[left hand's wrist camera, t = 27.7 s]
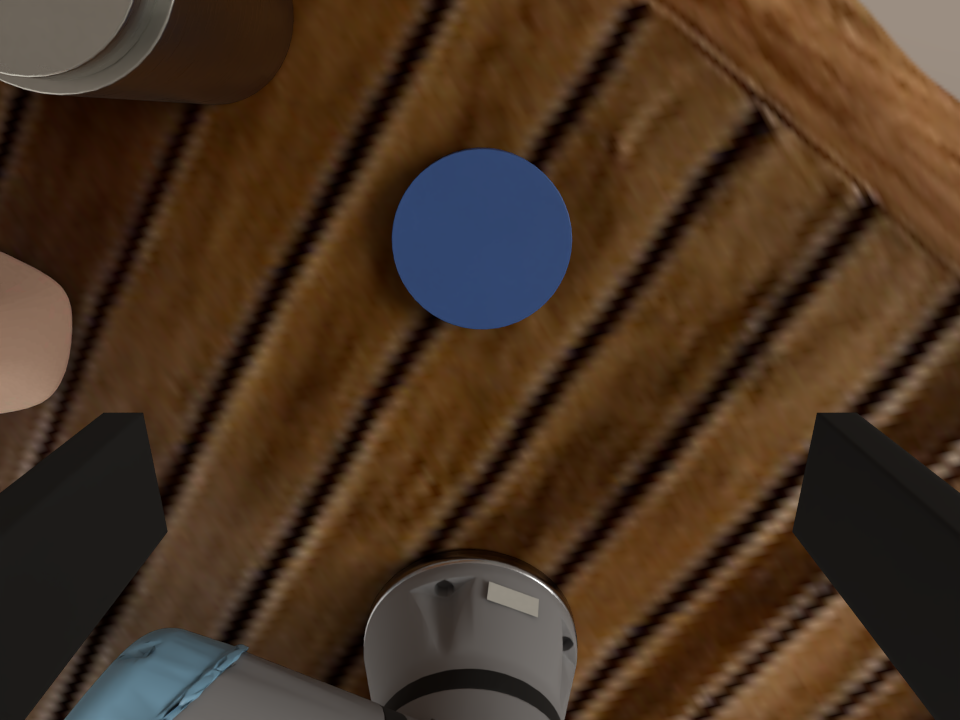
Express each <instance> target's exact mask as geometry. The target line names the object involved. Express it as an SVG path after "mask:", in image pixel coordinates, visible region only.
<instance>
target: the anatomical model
mask: <svg viewBox="0 0 960 720" xmlns="http://www.w3.org/2000/svg"><path fill="white" fill-rule="evenodd" d="M71 339H72V311H71V305H70V302H69V299H68V297H67V295H66V293H65V291H64V290H63V288H62V287H61V286H60V285H59V284H58V283H57V282H56V281H54V280H53V279H52V278H51V277H49V276H47V275H46V274H44V273H42V272H41V271H39V270H37V269H36V268H34V267H32V266H29V265H27V264H25V263H23V262H21V261H19V260H17V259H15V258H13V257H11V256H9V255H7V254H5V253H3V252H0V413H6V412H12V411H17V410H21V409H26V408H29V407H32V406H35V405H37V404H40V403H42V402H43V401H45V400H46V399H48V398H49V397H50V396H51V395H52V394H53V393H54V392H55V391H56V389H57V388H58V386H59V385H60V383H61V381H62V378H63V376H64V374H65V371H66V368H67V364H68V360H69V355H70V348H71Z"/></svg>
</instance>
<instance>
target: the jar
mask: <svg viewBox="0 0 960 720" xmlns="http://www.w3.org/2000/svg"><path fill="white" fill-rule="evenodd" d="M292 30H293V4H292V0H0V80H1V81H3V82H5V83H7V84H10V85H13V86H16V87H18V88H21V89H24V90H28V91H33V92H37V93H42V94H51V95H63V96H79V97H96V98H112V99H129V100H145V101H162V102H178V103H195V104H211V105H216V104H228V103H233V102H237V101H240V100H242V99H245V98H247V97H249V96H251V95H253V94H255V93H256V92H258V91H259V90H260V89H262V88H263V87H264V86H265V85H266V84H267V83H268V82H269V81H270V80H271V79H272V78H273V77H274V76H275V74H276V73H277V71H278V70H279V69H280V67H281V65H282V63H283V61H284V59H285V57H286V54H287V51H288V49H289V46H290V41H291V37H292Z"/></svg>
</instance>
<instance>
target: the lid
mask: <svg viewBox="0 0 960 720" xmlns="http://www.w3.org/2000/svg"><path fill="white" fill-rule="evenodd" d="M571 247H572V231H571V223H570V218H569V214H568V211H567V208H566V205H565V203H564V201H563V199H562V197H561V195H560V193H559V192H558V190H557V189H556V187H555V186H554V184H553V183H552V182H551V181H550V180H549V178H548V177H547V176H546V175H545V174H544V173H543V172H541V171H540V170H539V169H538V168H537V167H536V166H534V165H533V164H532V163H530V162H528V161H527V160H525V159H524V158H522V157H520V156H517V155H515V154H513V153H510V152H507V151H503V150H499V149H493V148H471V149H464V150H461V151H457V152H454V153H451V154H449V155H446V156H444V157H442V158H440V159H439V160H437V161H435V162H434V163H432V164H431V165H430V166H428V167H427V168H426V169H425V170H423V171H422V172H421V173H420V174H419V175H418V176H417V177H416V178H415V179H414V180H413V182H412V183H411V184H410V186H409V187H408V189H407V190H406V191H405V193H404V195H403V197H402V199H401V201H400V203H399V206H398V208H397V211H396V214H395V218H394V222H393V230H392V249H393V256H394V261H395V264H396V267H397V271H398V273H399V275H400V277H401V280H402V282H403V283H404V285H405V287H406V288H407V290H408V291H409V293H410V294H411V295H412V296H413V298H414V299H415V300H416V301H417V302H418V303H419V304H420V305H421V306H422V307H423V308H424V309H426V310H427V311H428V312H430V313H431V314H432V315H434V316H436V317H438V318H439V319H441V320H443V321H446V322H448V323H450V324H453V325H456V326H460V327H464V328H471V329H493V328H499V327H503V326H508V325H510V324H513V323H516V322H519V321H520V320H522V319H524V318H526V317H528V316H530V315H531V314H532V313H534V312H535V311H537V310H538V309H539V308H540V307H541V306H543V305H544V304H545V303H546V302H547V301H548V300H549V298H550V297H551V296H552V295H553V294H554V292H555V291H556V289H557V288H558V286H559V285H560V283H561V281H562V279H563V277H564V275H565V273H566V270H567V267H568V264H569V260H570V255H571Z"/></svg>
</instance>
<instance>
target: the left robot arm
mask: <svg viewBox="0 0 960 720" xmlns="http://www.w3.org/2000/svg"><path fill="white" fill-rule="evenodd" d="M166 533H167V527H166V522H165V517H164V512H163V507H162V503H161V498H160V493H159V488H158V483H157V478H156V474H155V469H154V464H153V459H152V454H151V449H150V445H149V440H148V435H147V430H146V425H145V420H144V415H143V413H103V414H101V415H100V416H99V417H98V418H96V419H95V420H94V421H92V422H91V423H90V424H89V425H87V426H86V427H85V428H83V429H82V430H81V431H79V432H78V433H77V434H76V435H74V436H73V437H72V438H70V439H69V440H68V441H67V442H65V443H64V444H63V445H61V446H60V447H59V448H58V449H56V450H55V451H54V452H52V453H51V454H50V455H49V456H47V457H46V458H45V459H43V460H42V461H41V462H40V463H38V464H37V465H36V466H34V467H33V468H32V469H31V470H29V471H28V472H27V473H25V474H24V475H23V476H21V477H20V478H19V479H18V480H16V481H15V482H14V483H12V484H11V485H10V486H9V487H7V488H6V489H5V490H3V491H2V492H1V493H0V720H25V719H26V717H27V716H28V715H29V713H30V712H31V711H32V709H33V708H34V707H35V705H36V704H37V703H38V701H39V700H40V699H41V698H42V696H43V695H44V694H45V692H46V691H47V690H48V688H49V687H50V686H51V684H52V683H53V682H54V680H55V679H56V678H57V677H58V675H59V674H60V673H61V671H62V670H63V669H64V667H65V666H66V665H67V663H68V662H69V661H70V659H71V658H72V657H73V655H74V654H75V653H76V652H77V650H78V649H79V648H80V646H81V645H82V644H83V642H84V641H85V640H86V638H87V637H88V636H89V634H90V633H91V632H92V630H93V629H94V628H95V627H96V625H97V624H98V623H99V621H100V620H101V619H102V617H103V616H104V615H105V613H106V612H107V611H108V609H109V608H110V607H111V605H112V604H113V603H114V602H115V600H116V599H117V598H118V596H119V595H120V594H121V592H122V591H123V590H124V588H125V587H126V586H127V584H128V583H129V582H130V580H131V579H132V578H133V577H134V575H135V574H136V573H137V571H138V570H139V569H140V567H141V566H142V565H143V563H144V562H145V561H146V559H147V558H148V557H149V555H150V554H151V553H152V552H153V550H154V549H155V548H156V546H157V545H158V544H159V542H160V541H161V540H162V538H163V537H164V536H165V534H166ZM793 533H794V534H795V536H796V537H797V538H798V540H799V541H800V542H801V544H802V545H803V546H804V548H805V549H806V550H807V552H808V553H809V554H810V555H811V557H812V558H813V559H814V561H815V562H816V563H817V565H818V566H819V567H820V569H821V570H822V571H823V573H824V574H825V575H826V577H827V578H828V579H829V580H830V582H831V583H832V584H833V586H834V587H835V588H836V590H837V591H838V592H839V594H840V595H841V596H842V598H843V599H844V600H845V602H846V603H847V604H848V605H849V607H850V608H851V609H852V611H853V612H854V613H855V615H856V616H857V617H858V619H859V620H860V621H861V623H862V624H863V625H864V627H865V628H866V629H867V630H868V632H869V633H870V634H871V636H872V637H873V638H874V640H875V641H876V642H877V644H878V645H879V646H880V648H881V649H882V650H883V652H884V653H885V654H886V655H887V657H888V658H889V659H890V661H891V662H892V663H893V665H894V666H895V667H896V669H897V670H898V671H899V673H900V674H901V675H902V677H903V678H904V679H905V680H906V682H907V683H908V684H909V686H910V687H911V688H912V690H913V691H914V692H915V694H916V695H917V696H918V698H919V699H920V700H921V701H922V703H923V704H924V705H925V707H926V708H927V709H928V711H929V712H930V713H931V715H932V716H933V717H934V719H935V720H960V493H959V492H958V491H957V490H955V489H954V488H953V487H951V486H950V485H949V484H948V483H946V482H945V481H944V480H942V479H941V478H940V477H939V476H937V475H936V474H935V473H933V472H932V471H931V470H929V469H928V468H927V467H926V466H924V465H923V464H922V463H920V462H919V461H918V460H917V459H915V458H914V457H913V456H911V455H910V454H909V453H908V452H906V451H905V450H904V449H902V448H901V447H900V446H899V445H897V444H896V443H895V442H893V441H892V440H891V439H890V438H888V437H887V436H886V435H884V434H883V433H882V432H881V431H879V430H878V429H877V428H875V427H874V426H873V425H871V424H870V423H869V422H868V421H866V420H865V419H864V418H862V417H861V416H860V415H859V414H857V413H817V415H816V420H815V425H814V430H813V435H812V440H811V445H810V449H809V454H808V459H807V464H806V469H805V474H804V478H803V483H802V488H801V493H800V498H799V503H798V507H797V512H796V517H795V522H794V527H793ZM248 648H249V647H247V646H245V645H242V644H240V645H237V646H232V645H229V644H226V643H223V642H220V641H217V640H214V639H211V638H208V637H205V636H202V635H199V634H196V633H193V632H190V631H187V630H184V629H179V628H164V629H159V630H155V631H153V632H150V633H148V634H146V635H144V636H143V637H141V638H139V639H138V640H137V641H135V642H134V643H133V644H131V645H130V646H129V647H128V648H127V649H126V650H125V651H124V652H123V653H121V654H120V655H119V657H118V658H117V659H116V660H115V661H114V662H113V663H112V664H111V665H110V666H109V667H108V668H107V669H106V670H105V672H104V673H103V674H102V675H101V676H100V677H99V678H98V680H97V681H96V682H95V683H94V684H93V685H92V686H91V688H90V689H89V690H88V691H87V692H86V693H85V695H84V696H83V697H82V698H81V699H80V701H79V702H78V703H77V704H76V706H75V707H74V708H73V709H72V711H71V712H70V713H69V714H68V716H67V717H66V718H65V719H64V720H564V718H565V714H566V709H567V705H568V700H569V696H570V691H571V687H572V682H573V678H574V673H575V669H576V662H577V635H576V630H575V625H574V620H573V615H572V612H571V609H570V606H569V604H568V602H567V600H566V598H565V597H564V595H563V593H562V592H561V591H560V589H559V588H558V587H557V586H556V584H555V583H554V582H553V581H552V580H551V579H550V578H548V577H547V576H546V575H545V574H544V573H542V572H541V571H539V570H538V569H536V568H535V567H533V566H531V565H530V564H528V563H526V562H524V561H521V560H519V559H517V558H514V557H511V556H508V555H505V554H501V553H496V552H490V551H482V550H459V551H450V552H445V553H440V554H436V555H433V556H430V557H427V558H424V559H421V560H419V561H417V562H415V563H413V564H411V565H409V566H408V567H406V568H404V569H403V570H402V571H400V572H399V573H397V574H396V575H395V576H394V577H393V578H392V579H390V580H389V581H388V583H387V584H386V585H385V586H384V587H383V588H382V590H381V591H380V592H379V594H378V595H377V597H376V599H375V601H374V603H373V605H372V607H371V610H370V613H369V617H368V621H367V626H366V630H365V636H364V662H365V668H366V673H367V679H368V685H369V690H370V696H371V701H370V700H368V699H365V698H363V697H360V696H358V695H355V694H352V693H350V692H347V691H345V690H342V689H340V688H337V687H335V686H332V685H329V684H327V683H324V682H322V681H319V680H317V679H314V678H311V677H309V676H306V675H304V674H301V673H299V672H296V671H294V670H291V669H288V668H286V667H283V666H281V665H278V664H276V663H273V662H270V661H268V660H265V659H263V658H260V657H258V656H255V655H253V654H250V653H248V652H246V651H247V650H248Z"/></svg>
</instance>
